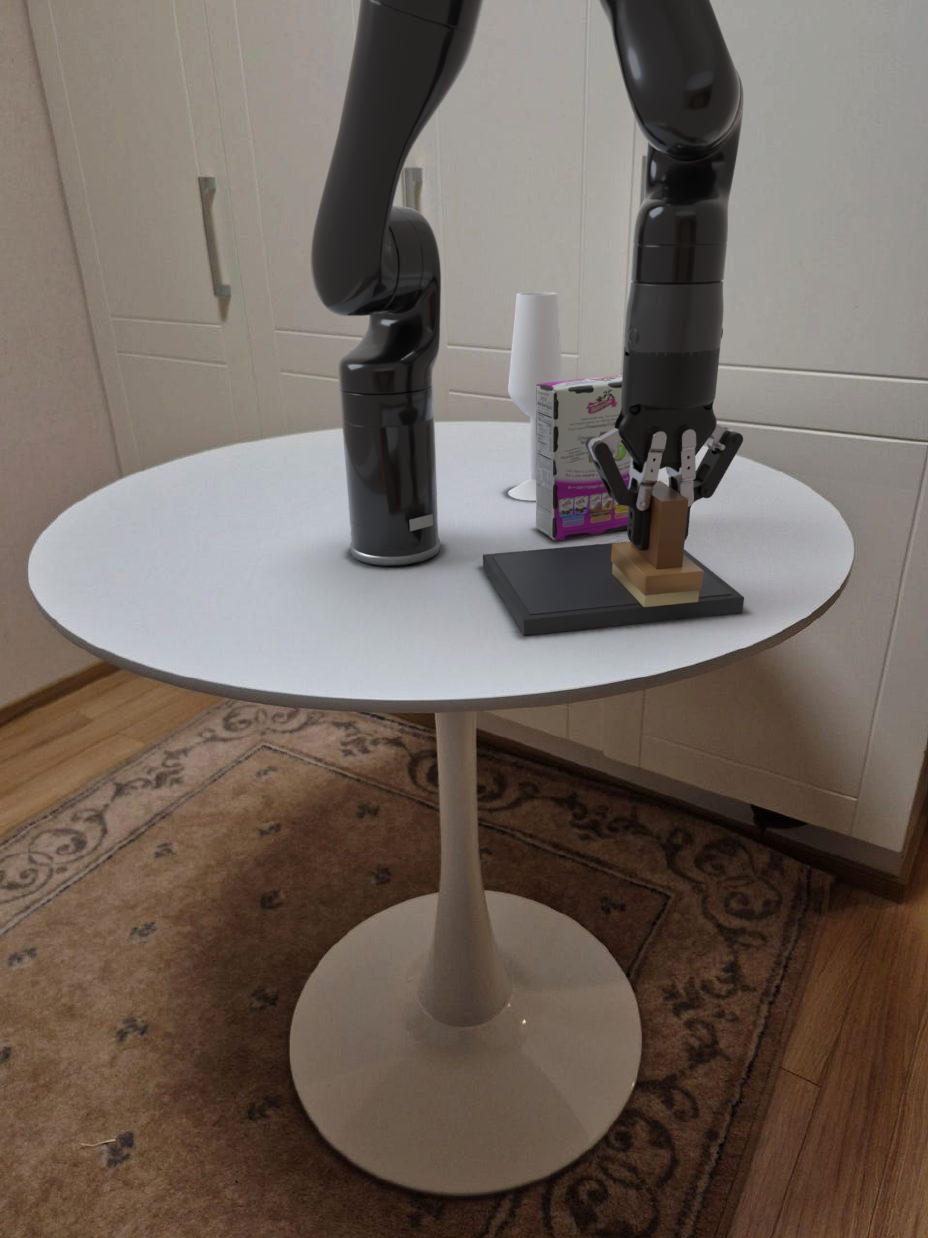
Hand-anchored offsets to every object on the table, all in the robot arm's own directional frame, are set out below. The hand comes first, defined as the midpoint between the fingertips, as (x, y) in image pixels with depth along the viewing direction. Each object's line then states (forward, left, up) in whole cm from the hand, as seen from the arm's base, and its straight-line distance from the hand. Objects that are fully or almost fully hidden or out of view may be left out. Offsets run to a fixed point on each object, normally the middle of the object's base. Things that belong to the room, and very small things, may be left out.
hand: (656, 545), depth 76 cm
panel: (-4, -3, -6) cm, 8 cm away
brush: (0, 0, -4) cm, 4 cm away
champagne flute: (-36, -1, -6) cm, 37 cm away
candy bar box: (-21, +1, -6) cm, 22 cm away
